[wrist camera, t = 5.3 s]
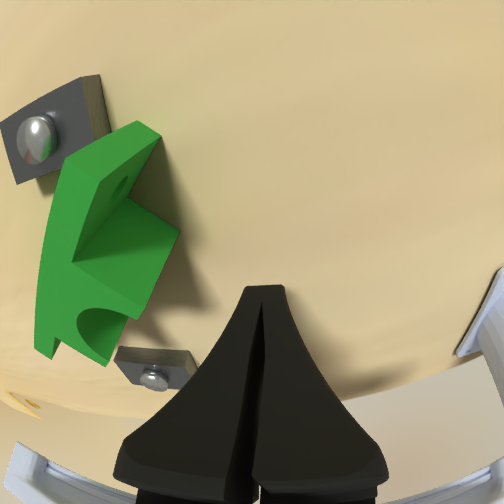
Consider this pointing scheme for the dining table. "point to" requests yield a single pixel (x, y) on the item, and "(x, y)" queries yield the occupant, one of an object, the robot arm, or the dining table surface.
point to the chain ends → (52, 158)
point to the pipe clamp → (99, 247)
